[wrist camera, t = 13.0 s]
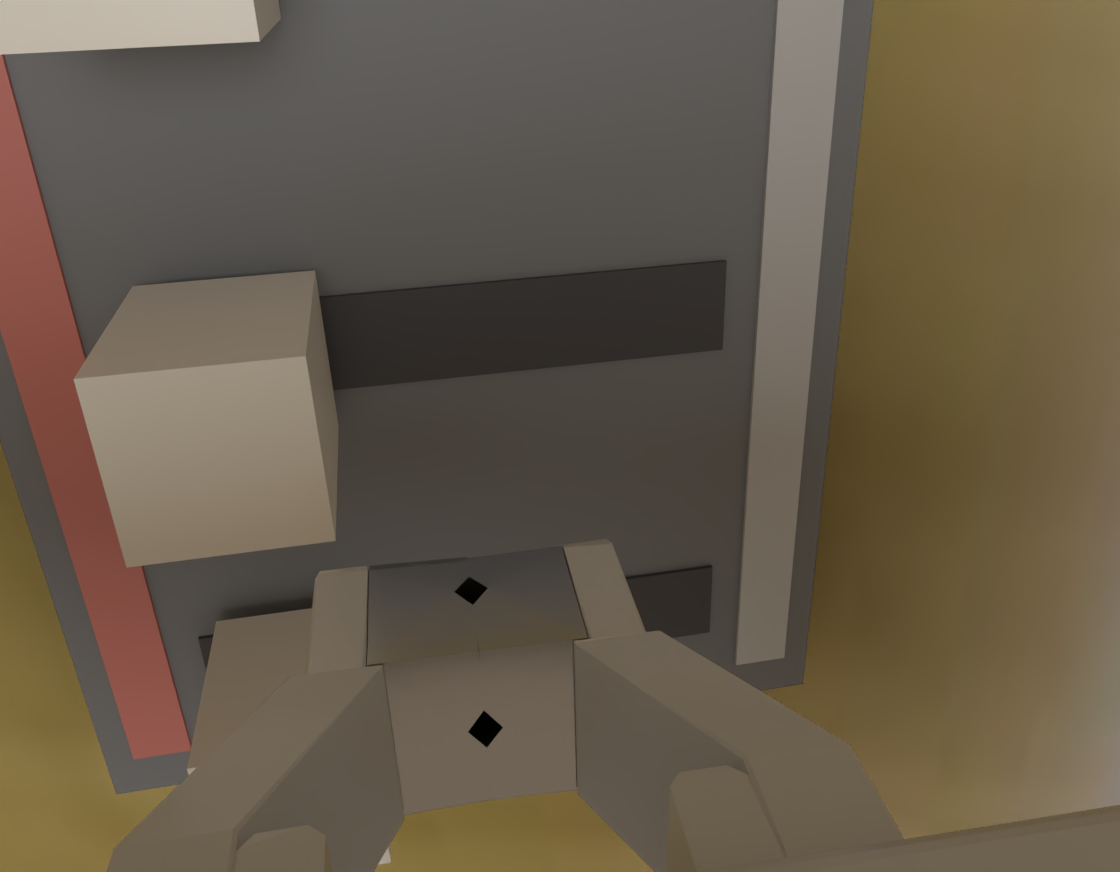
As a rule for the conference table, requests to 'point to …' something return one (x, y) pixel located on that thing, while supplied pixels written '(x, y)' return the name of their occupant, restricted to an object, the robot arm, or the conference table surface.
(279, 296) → the block
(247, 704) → the block
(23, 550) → the conference table surface
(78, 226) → the panel
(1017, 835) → the robot arm
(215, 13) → the block
